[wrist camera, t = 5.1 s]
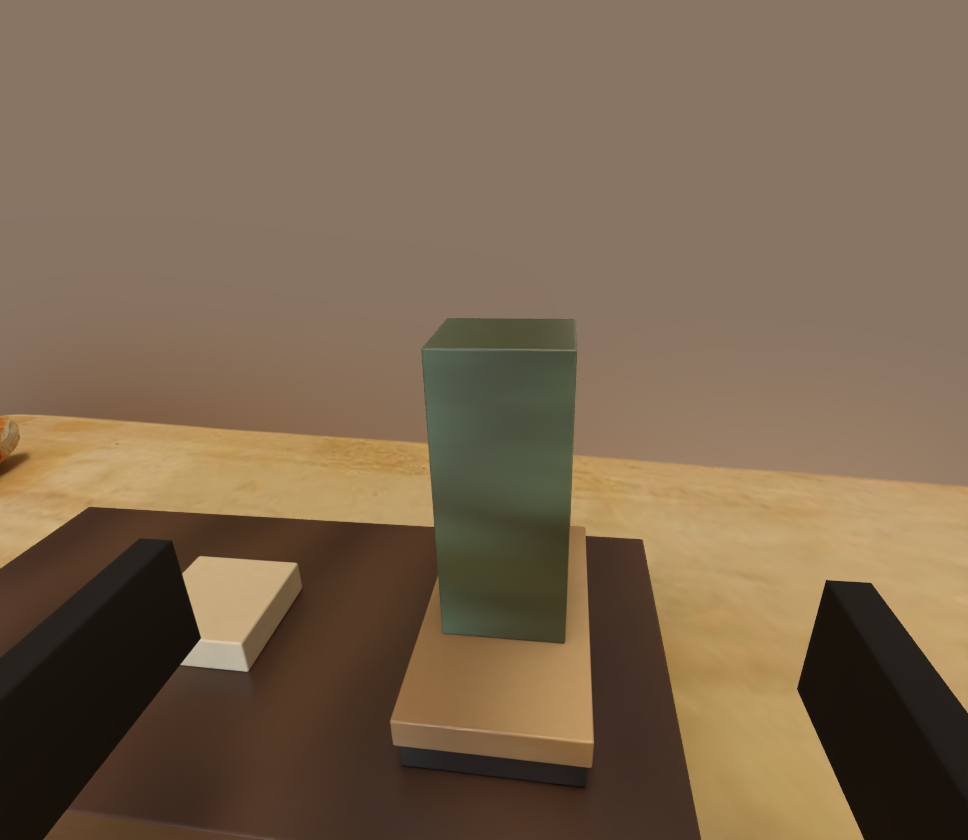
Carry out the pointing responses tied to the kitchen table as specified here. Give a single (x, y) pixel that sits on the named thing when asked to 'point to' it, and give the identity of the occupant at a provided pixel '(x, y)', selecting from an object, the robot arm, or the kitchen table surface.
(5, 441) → the croissant
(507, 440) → the green block on base
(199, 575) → the cream square tile
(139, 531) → the walnut board
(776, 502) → the kitchen table surface
